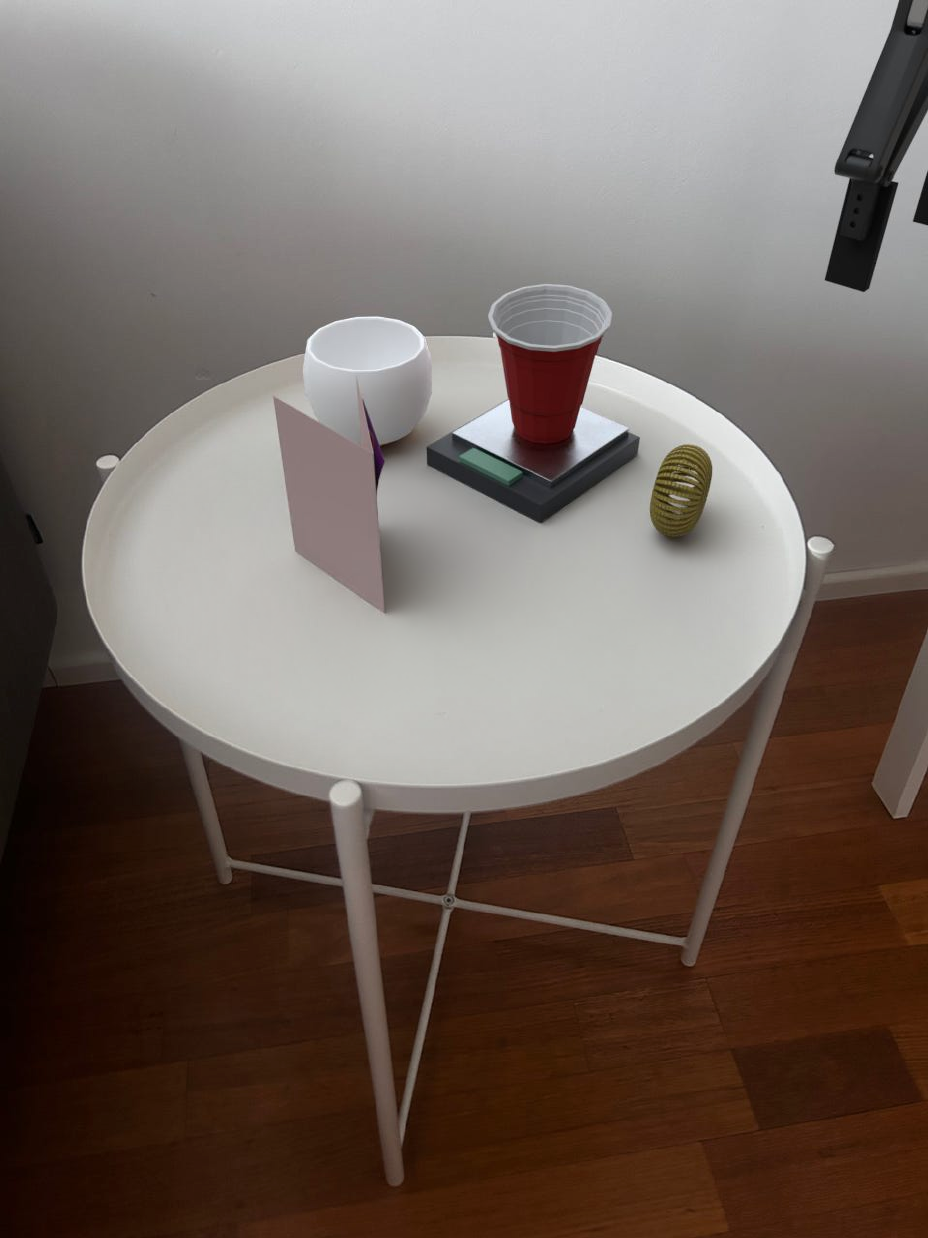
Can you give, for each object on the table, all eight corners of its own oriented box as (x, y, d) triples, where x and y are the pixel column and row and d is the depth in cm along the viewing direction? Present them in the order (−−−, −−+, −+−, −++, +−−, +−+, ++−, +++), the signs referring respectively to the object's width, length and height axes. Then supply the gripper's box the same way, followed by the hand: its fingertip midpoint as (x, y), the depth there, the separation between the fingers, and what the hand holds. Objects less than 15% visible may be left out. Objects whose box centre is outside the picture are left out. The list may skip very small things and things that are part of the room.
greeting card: (395, 611, 81) (385, 452, 71) (302, 623, 80) (279, 463, 70) (378, 527, 89) (367, 373, 79) (293, 536, 88) (271, 382, 78)
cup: (287, 425, 102) (275, 336, 95) (389, 388, 107) (385, 302, 101) (352, 481, 94) (344, 389, 88) (458, 439, 100) (458, 349, 93)
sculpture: (665, 498, 92) (677, 422, 87) (708, 509, 91) (724, 433, 86) (638, 547, 87) (650, 469, 82) (684, 560, 86) (699, 481, 80)
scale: (637, 454, 98) (641, 429, 96) (540, 523, 90) (542, 497, 88) (526, 404, 105) (527, 380, 103) (426, 464, 97) (425, 439, 95)
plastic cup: (468, 446, 94) (469, 325, 86) (509, 391, 101) (513, 275, 93) (580, 471, 91) (592, 348, 83) (613, 413, 98) (627, 295, 90)
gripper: (1016, -159, 63) (915, 191, 77) (832, -123, 49) (749, 295, 63) (1147, -151, 59) (1015, 215, 73) (987, -110, 45) (862, 332, 59)
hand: (891, 253), depth 68 cm, fingers open, 13 cm apart
